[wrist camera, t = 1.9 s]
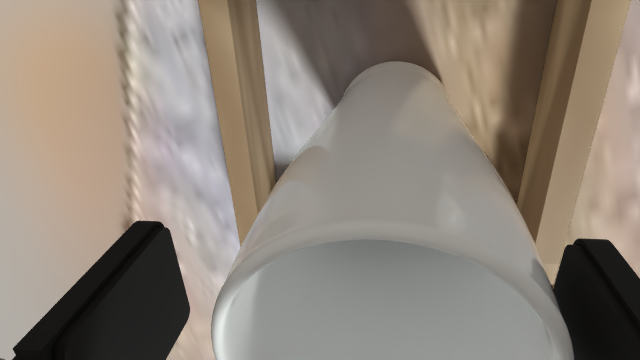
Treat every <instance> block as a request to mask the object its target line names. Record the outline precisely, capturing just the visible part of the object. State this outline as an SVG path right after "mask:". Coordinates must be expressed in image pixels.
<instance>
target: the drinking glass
mask: <svg viewBox="0 0 640 360" xmlns="http://www.w3.org/2000/svg"><path fill="white" fill-rule="evenodd" d="M211 339H212V346H213V351H214V355H215V358H216V360H574V353H573V347H572V341H571V338H570V335H569V332H568V329H567V326H566V323H565V321H564V319H563V317H562V314H561V311H560V309H559V306H558V303H557V300H556V297H555V294H554V291H553V289H552V286H551V283H550V280H549V278H548V275H547V272H546V270H545V267H544V264H543V262H542V259H541V257H540V254H539V252H538V250H537V247H536V245H535V242H534V240H533V238H532V236H531V233H530V231H529V229H528V227H527V225H526V223H525V221H524V219H523V217H522V215H521V212H520V210H519V208H518V206H517V204H516V202H515V201H514V199H513V197H512V195H511V193H510V191H509V189H508V188H507V186H506V184H505V183H504V181H503V179H502V178H501V176H500V175H499V173H498V172H497V170H496V169H495V167H494V166H493V164H492V163H491V161H490V159H489V158H488V156H487V155H486V154H485V152H484V151H483V149H482V148H481V146H480V145H479V143H478V142H477V140H476V139H475V138H474V136H473V135H472V133H471V132H470V130H469V129H468V127H467V126H466V124H465V123H464V122H463V120H462V119H461V117H460V116H459V114H458V113H457V111H456V110H455V108H454V106H453V105H452V103H451V101H450V99H449V96H448V93H447V91H446V89H445V88H444V86H443V85H442V83H441V82H440V81H439V80H438V78H437V77H435V76H434V75H433V74H432V73H431V72H430V71H428V70H426V69H425V68H423V67H421V66H419V65H416V64H413V63H409V62H403V61H390V62H384V63H380V64H377V65H374V66H372V67H370V68H368V69H366V70H365V71H363V72H362V73H360V74H359V75H358V76H357V77H356V78H355V79H354V80H353V81H352V82H351V83H350V85H349V86H348V87H347V89H346V91H345V92H344V94H343V96H342V99H341V100H340V101H339V103H338V104H337V105H336V107H335V108H334V109H333V110H332V112H331V113H330V114H329V116H328V117H327V118H326V119H325V121H324V122H323V123H322V124H321V125H320V127H319V128H318V129H317V130H316V132H315V133H314V134H313V135H312V137H311V138H310V139H309V140H308V141H307V143H306V144H305V145H304V146H303V148H302V149H301V150H300V152H299V153H298V154H297V155H296V157H295V158H294V159H293V161H292V162H291V163H290V164H289V166H288V167H287V168H286V170H285V171H284V173H283V174H282V176H281V177H280V178H279V180H278V182H277V183H276V185H275V186H274V188H273V189H272V191H271V193H270V194H269V196H268V198H267V199H266V201H265V203H264V205H263V206H262V208H261V210H260V211H259V213H258V215H257V217H256V219H255V220H254V222H253V224H252V226H251V228H250V230H249V232H248V234H247V236H246V238H245V240H244V242H243V244H242V246H241V248H240V250H239V253H238V255H237V257H236V259H235V261H234V263H233V266H232V268H231V270H230V272H229V274H228V276H227V279H226V281H225V283H224V284H223V286H222V288H221V290H220V293H219V295H218V297H217V300H216V303H215V307H214V310H213V315H212V323H211Z"/></svg>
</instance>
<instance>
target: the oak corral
mask: <svg viewBox="0 0 640 360" xmlns="http://www.w3.org/2000/svg"><path fill="white" fill-rule="evenodd" d="M198 2H199V8H200V14H201V19H202V25H203V31H204V37H205V43H206V48H207V54H208V60H209V66H210V72H211V78H212V83H213V89H214V95H215V101H216V107H217V112H218V118H219V124H220V130H221V136H222V141H223V147H224V153H225V159H226V165H227V171H228V176H229V182H230V188H231V194H232V200H233V205H234V211H235V217H236V223H237V229H238V235H239V240H240V246H242V244H243V242H244V240H245V238H246V236H247V234H248V232H249V230H250V228H251V226H252V224H253V222H254V220H255V219H256V217H257V215H258V213H259V211H260V210H261V208H262V206H263V205H264V203H265V201H266V199H267V198H268V196H269V194H270V193H271V191H272V189H273V188H274V186H275V185H276V174H275V166H274V157H273V148H272V139H271V130H270V121H269V112H268V104H267V95H266V86H265V77H264V68H263V59H262V50H261V42H260V33H259V24H258V15H257V6H256V0H198ZM630 2H631V0H557V2H556V7H555V13H554V18H553V23H552V28H551V33H550V38H549V43H548V48H547V53H546V59H545V64H544V69H543V74H542V79H541V84H540V89H539V94H538V99H537V105H536V110H535V115H534V120H533V125H532V130H531V135H530V140H529V145H528V150H527V156H526V161H525V166H524V171H523V176H522V181H521V186H520V191H519V196H518V202H517V206H518V208H519V210H520V212H521V215H522V217H523V219H524V221H525V223H526V225H527V227H528V229H529V231H530V233H531V236H532V238H533V240H534V242H535V245H536V247H537V250H538V252H539V254H540V257H541V259H542V262H543V264H544V267H545V270H546V272H547V275H548V278H549V280H550V283H551V285H554V282H555V278H556V274H557V271H558V267H559V263H560V260H561V256H562V252H563V249H564V245H565V241H566V238H567V234H568V230H569V227H570V223H571V219H572V216H573V212H574V208H575V205H576V201H577V197H578V193H579V190H580V186H581V182H582V179H583V175H584V171H585V168H586V164H587V160H588V157H589V153H590V149H591V146H592V142H593V138H594V135H595V131H596V127H597V124H598V120H599V116H600V113H601V109H602V105H603V101H604V98H605V94H606V90H607V87H608V83H609V79H610V76H611V72H612V68H613V65H614V61H615V57H616V54H617V50H618V46H619V43H620V39H621V35H622V32H623V28H624V24H625V20H626V17H627V13H628V9H629V6H630Z"/></svg>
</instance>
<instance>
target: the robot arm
mask: <svg viewBox="0 0 640 360" xmlns="http://www.w3.org/2000/svg"><path fill="white" fill-rule="evenodd" d="M553 291H554V294H555V297H556V300H557V303H558V306H559V309H560V311H561V314H562V317H563V319H564V321H565V323H566V326H567V329H568V332H569V335H570V338H571V341H572V347H573V353H574V360H640V278H639V277H638V276H637V275H636V273H635V272H634V271H633V269H632V268H631V267H630V266H629V264H628V263H627V262H626V261H625V259H624V258H623V257H622V255H621V254H620V253H619V252H618V250H617V249H616V248H615V246H614V245H613V244H612V243H611V242H610V241H609V240H603V239H576V241H575V242H574V244H573V245H567V246H566V247H565V250H564V253H563V257H562V260H561V264H560V268H559V271H558V275H557V279H556V282H555V286H554V290H553ZM189 313H190V306H189V302H188V298H187V294H186V290H185V286H184V283H183V279H182V275H181V271H180V267H179V264H178V260H177V256H176V252H175V248H174V244H173V241H172V237H171V233H170V230H169V229H168V228H166V227H164V225H163V224H162V223H161V222H158V221H136V222H135V223H133V224H132V226H131V227H130V228H129V229H128V230H127V231H126V232H125V233H124V234H123V235H122V236H121V237H120V238H119V239H118V240H117V241H116V242H115V243H114V244H113V245H112V246H111V247H110V248H109V249H108V250H107V251H106V252H105V254H104V255H103V256H102V257H101V258H100V259H99V260H98V261H97V262H96V263H95V264H94V265H93V266H92V267H91V268H90V269H89V270H88V271H87V272H86V273H85V274H84V275H83V276H82V277H81V278H80V279H79V280H78V281H77V283H76V284H75V285H74V286H73V287H72V288H71V289H70V290H69V291H68V292H67V293H66V294H65V295H64V296H63V297H62V298H61V299H60V300H59V301H58V302H57V303H56V304H55V305H54V306H53V307H52V308H51V310H50V311H49V312H48V313H47V314H46V315H45V316H44V317H43V318H42V319H41V320H40V321H39V322H38V323H37V324H36V325H35V326H34V327H33V328H32V329H31V330H30V331H29V332H28V333H27V334H26V336H24V337H23V338H22V339H21V341H20V342H19V343H18V344H17V345H16V346H15V347H14V348H13V350H14V352H15V354H16V356H15V357H14V358H13V359H12V360H166V358H167V356H168V355H169V353H170V351H171V349H172V347H173V346H174V344H175V342H176V340H177V338H178V337H179V335H180V333H181V331H182V330H183V328H184V326H185V324H186V322H187V320H188V318H189ZM0 360H5V359H1V358H0Z"/></svg>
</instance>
